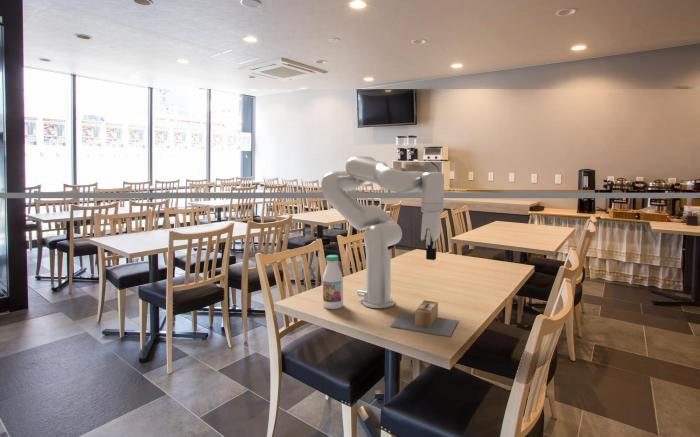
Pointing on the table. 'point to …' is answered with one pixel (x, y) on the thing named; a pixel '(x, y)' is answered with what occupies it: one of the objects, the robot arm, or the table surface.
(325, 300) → the milk bottle
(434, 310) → the cardboard box
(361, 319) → the table surface
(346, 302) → the table surface
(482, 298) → the table surface
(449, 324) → the charcoal mat
